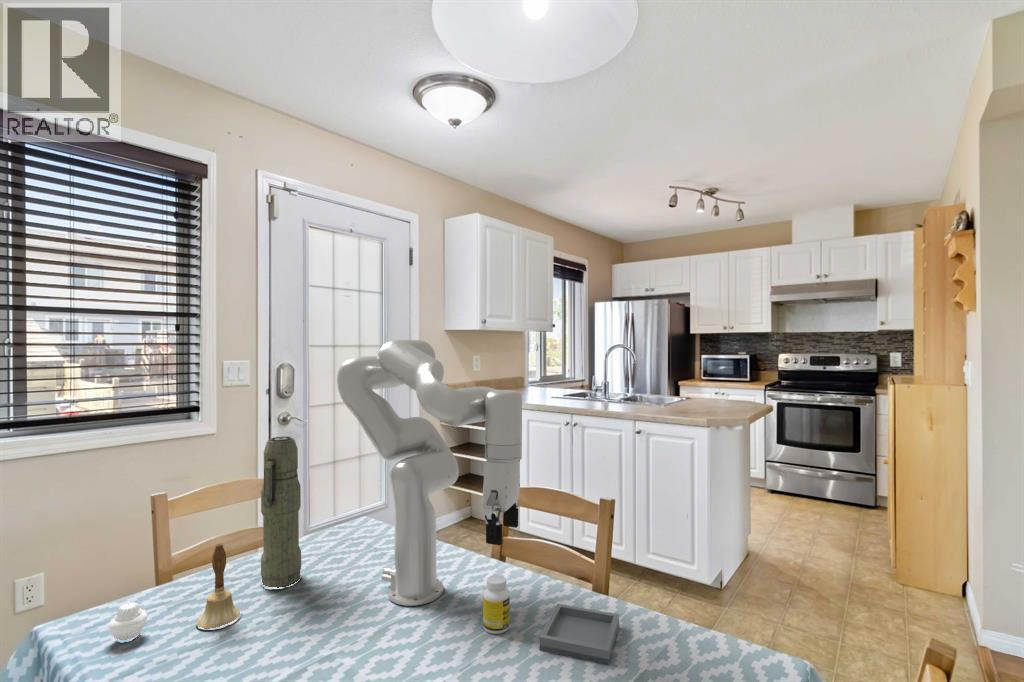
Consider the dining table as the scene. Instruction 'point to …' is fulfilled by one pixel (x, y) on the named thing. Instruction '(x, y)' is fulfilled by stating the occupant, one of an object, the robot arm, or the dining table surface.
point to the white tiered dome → (128, 621)
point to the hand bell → (218, 596)
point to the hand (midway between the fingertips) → (502, 534)
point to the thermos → (280, 513)
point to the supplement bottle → (496, 605)
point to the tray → (580, 633)
